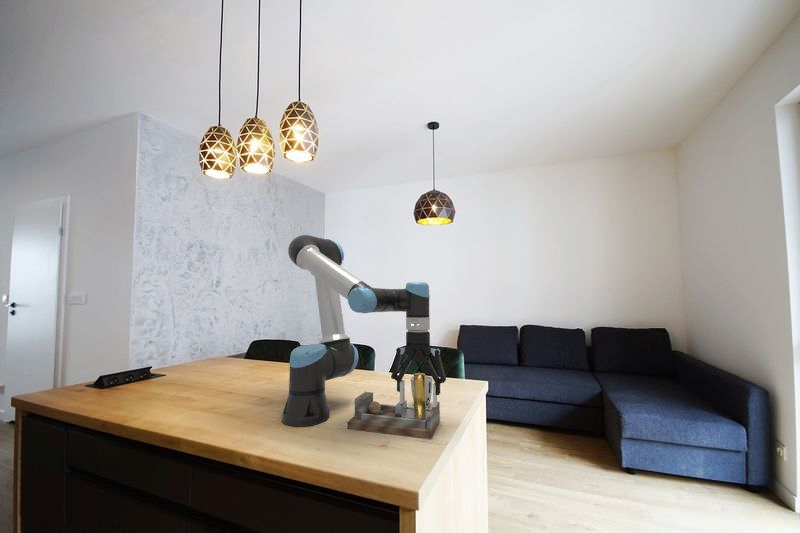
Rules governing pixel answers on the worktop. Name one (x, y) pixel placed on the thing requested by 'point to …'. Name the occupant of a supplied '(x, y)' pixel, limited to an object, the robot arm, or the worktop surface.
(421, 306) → the robot arm
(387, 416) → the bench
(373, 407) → the nut
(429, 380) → the cup
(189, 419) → the worktop surface
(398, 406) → the lever
